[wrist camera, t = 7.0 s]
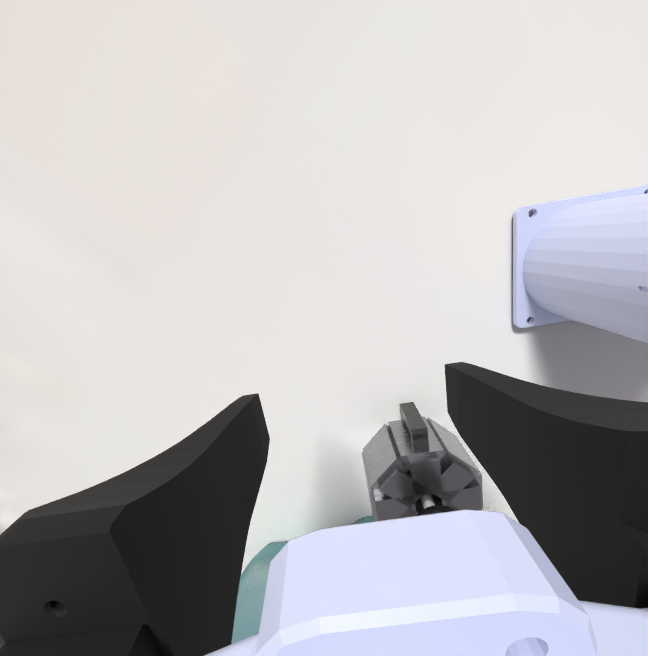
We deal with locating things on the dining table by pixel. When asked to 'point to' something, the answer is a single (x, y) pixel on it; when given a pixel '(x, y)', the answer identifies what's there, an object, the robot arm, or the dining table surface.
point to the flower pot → (253, 593)
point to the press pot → (418, 468)
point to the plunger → (432, 506)
